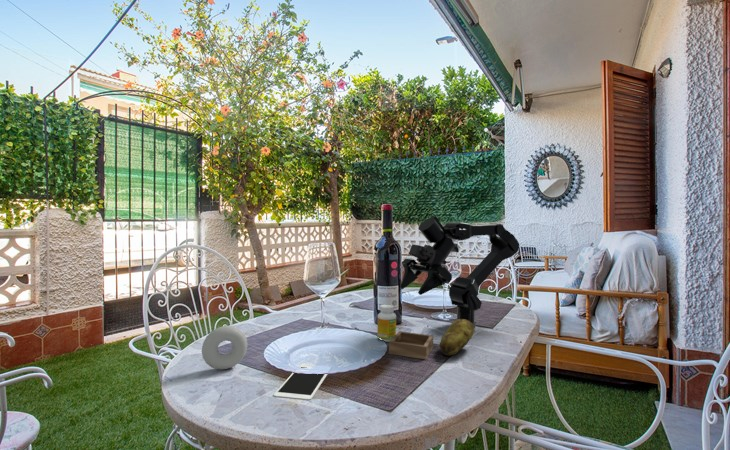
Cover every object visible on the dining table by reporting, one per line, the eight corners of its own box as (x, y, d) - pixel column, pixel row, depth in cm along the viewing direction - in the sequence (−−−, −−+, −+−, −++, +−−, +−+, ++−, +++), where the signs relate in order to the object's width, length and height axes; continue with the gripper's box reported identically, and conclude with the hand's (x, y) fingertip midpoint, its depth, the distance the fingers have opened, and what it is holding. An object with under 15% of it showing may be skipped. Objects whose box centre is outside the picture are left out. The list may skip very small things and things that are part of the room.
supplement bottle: (390, 343, 104) (390, 309, 104) (373, 339, 107) (374, 306, 107) (398, 338, 109) (399, 305, 109) (382, 334, 112) (383, 303, 111)
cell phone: (332, 368, 87) (332, 366, 87) (310, 402, 71) (310, 399, 71) (300, 366, 89) (300, 363, 89) (272, 398, 73) (272, 395, 73)
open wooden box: (399, 342, 105) (399, 331, 105) (433, 346, 102) (433, 335, 102) (388, 353, 96) (389, 341, 96) (426, 359, 93) (426, 347, 93)
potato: (426, 350, 99) (427, 320, 99) (460, 342, 106) (461, 314, 106) (449, 361, 92) (450, 329, 92) (484, 351, 99) (484, 322, 99)
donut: (202, 375, 81) (202, 330, 81) (200, 370, 84) (201, 326, 84) (248, 367, 86) (249, 325, 86) (246, 362, 89) (246, 321, 89)
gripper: (406, 233, 122) (377, 269, 117) (445, 237, 106) (413, 278, 100) (425, 256, 126) (398, 291, 121) (465, 263, 110) (435, 304, 104)
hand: (409, 290), depth 111 cm, fingers open, 9 cm apart
